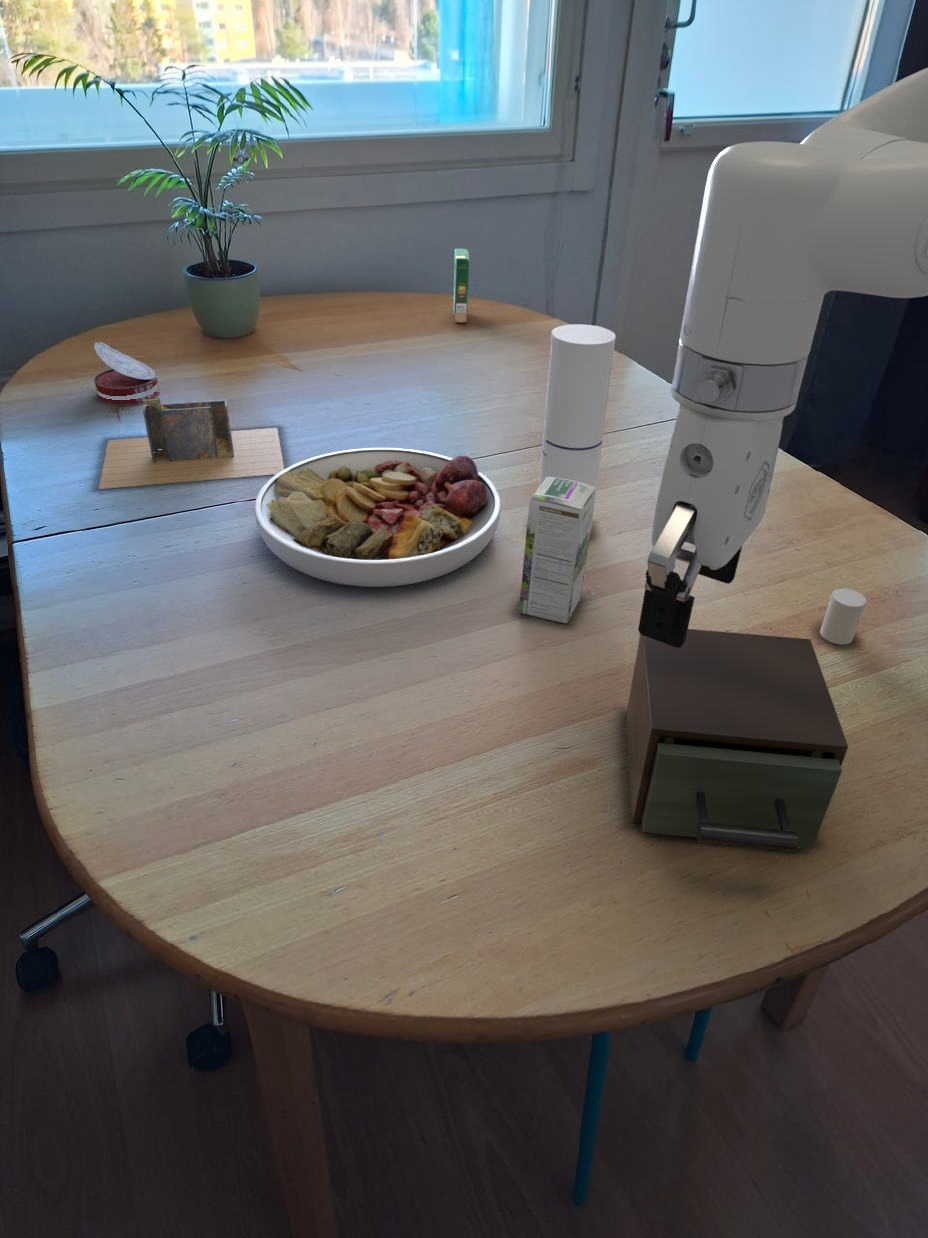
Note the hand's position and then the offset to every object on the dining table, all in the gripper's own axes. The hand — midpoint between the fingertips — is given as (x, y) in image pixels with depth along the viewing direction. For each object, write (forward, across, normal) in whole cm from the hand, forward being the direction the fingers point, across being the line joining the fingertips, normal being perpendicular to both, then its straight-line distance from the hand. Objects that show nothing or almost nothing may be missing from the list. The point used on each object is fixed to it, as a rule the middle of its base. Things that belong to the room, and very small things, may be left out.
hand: (687, 606), depth 63 cm
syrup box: (+20, +21, +21) cm, 36 cm away
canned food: (+20, +34, +109) cm, 116 cm away
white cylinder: (+20, +34, -7) cm, 40 cm away
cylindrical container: (+20, +37, +28) cm, 51 cm away
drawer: (+19, +2, -6) cm, 20 cm away
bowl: (+20, +22, +46) cm, 55 cm away
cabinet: (+20, +6, -4) cm, 21 cm away
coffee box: (+20, +104, +89) cm, 138 cm away
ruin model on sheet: (+20, +24, +82) cm, 88 cm away
